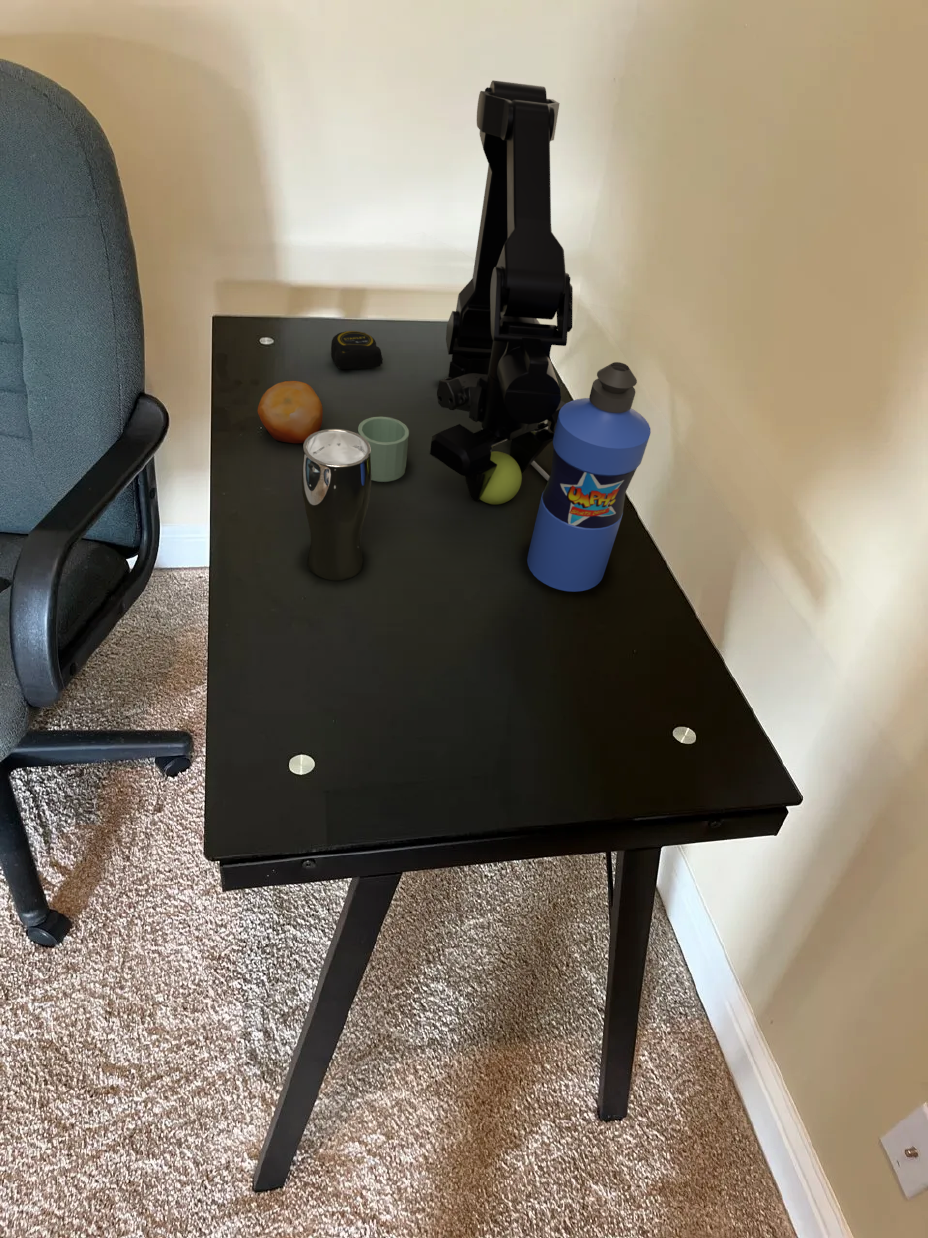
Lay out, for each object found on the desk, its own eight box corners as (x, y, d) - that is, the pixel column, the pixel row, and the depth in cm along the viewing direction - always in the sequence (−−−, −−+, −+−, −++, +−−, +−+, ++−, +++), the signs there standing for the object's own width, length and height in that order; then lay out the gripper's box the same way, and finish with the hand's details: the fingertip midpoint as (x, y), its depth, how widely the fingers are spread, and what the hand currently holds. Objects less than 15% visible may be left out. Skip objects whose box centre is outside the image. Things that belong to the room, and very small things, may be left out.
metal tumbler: (315, 589, 88) (315, 472, 77) (294, 549, 92) (291, 433, 81) (376, 575, 90) (384, 460, 80) (353, 537, 95) (357, 422, 84)
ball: (491, 478, 106) (498, 435, 102) (527, 502, 103) (536, 460, 99) (455, 495, 103) (461, 451, 98) (492, 521, 100) (500, 477, 95)
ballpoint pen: (508, 445, 113) (509, 439, 112) (513, 444, 113) (515, 438, 112) (553, 488, 107) (555, 482, 106) (558, 487, 107) (560, 480, 106)
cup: (384, 448, 108) (386, 411, 104) (415, 471, 105) (419, 433, 102) (346, 463, 105) (347, 426, 101) (378, 487, 102) (380, 449, 98)
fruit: (333, 408, 111) (326, 376, 103) (321, 461, 109) (312, 433, 101) (274, 398, 111) (262, 365, 103) (260, 451, 109) (247, 422, 101)
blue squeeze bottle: (525, 534, 99) (569, 337, 81) (602, 544, 99) (662, 350, 82) (525, 586, 92) (573, 384, 75) (607, 597, 93) (674, 398, 75)
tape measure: (336, 376, 120) (336, 352, 117) (326, 353, 124) (326, 329, 122) (382, 373, 122) (383, 350, 119) (370, 351, 126) (371, 328, 124)
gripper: (517, 325, 100) (498, 436, 111) (402, 365, 90) (393, 483, 100) (588, 364, 95) (560, 476, 106) (474, 411, 85) (456, 530, 96)
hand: (493, 489), depth 102 cm, fingers closed on ball, 6 cm apart
